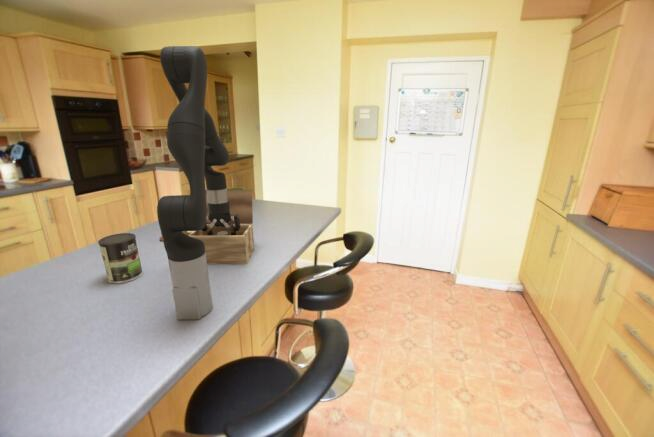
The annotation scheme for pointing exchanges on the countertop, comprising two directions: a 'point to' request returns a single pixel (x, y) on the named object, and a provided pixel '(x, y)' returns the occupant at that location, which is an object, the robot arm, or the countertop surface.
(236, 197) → the lid
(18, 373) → the countertop surface
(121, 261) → the coffee can
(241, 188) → the plant pot
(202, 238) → the wooden box
